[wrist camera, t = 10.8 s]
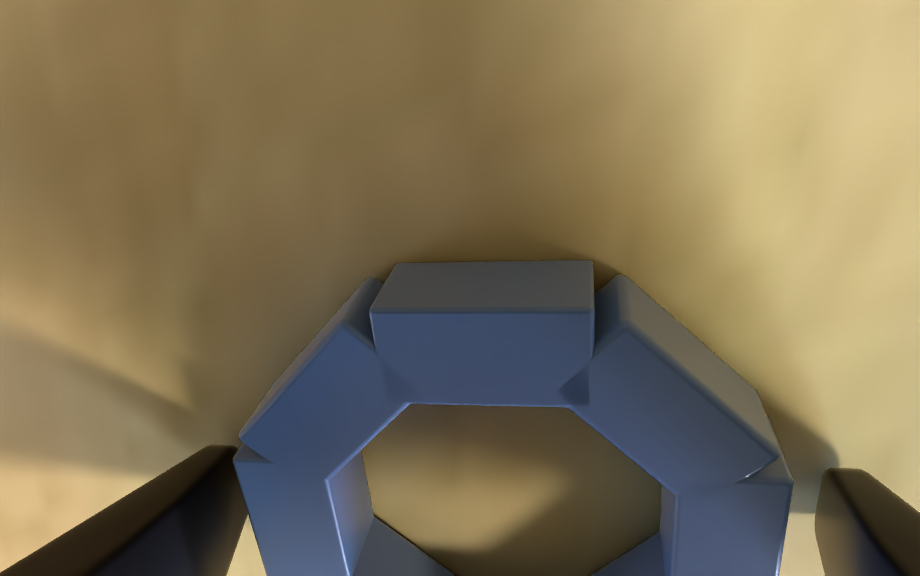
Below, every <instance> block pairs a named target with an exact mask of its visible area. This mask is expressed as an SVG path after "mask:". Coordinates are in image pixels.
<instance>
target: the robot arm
mask: <svg viewBox="0 0 920 576" xmlns="http://www.w3.org/2000/svg"><path fill="white" fill-rule="evenodd" d="M238 450H239V449H238V448H237V447H235V446H231V445H209V446H207V447H205V448H203V449H202V450H200V451H198V452H197V453H195V454H193V455H192V456H190V457H188V458H187V459H185V460H184V461H182V462H180V463H179V464H177V465H175V466H174V467H172V468H171V469H169V470H167V471H166V472H164V473H162V474H161V475H159V476H157V477H156V478H154V479H153V480H151V481H149V482H148V483H146V484H144V485H143V486H141V487H139V488H138V489H136V490H135V491H133V492H131V493H130V494H128V495H126V496H125V497H123V498H121V499H120V500H118V501H117V502H115V503H113V504H112V505H110V506H108V507H107V508H105V509H104V510H102V511H100V512H99V513H97V514H95V515H94V516H92V517H90V518H89V519H87V520H86V521H84V522H82V523H81V524H79V525H77V526H76V527H74V528H72V529H71V530H69V531H68V532H66V533H64V534H63V535H61V536H59V537H58V538H56V539H54V540H53V541H51V542H50V543H48V544H46V545H45V546H43V547H41V548H40V549H38V550H37V551H35V552H33V553H32V554H30V555H28V556H27V557H25V558H23V559H22V560H20V561H19V562H17V563H15V564H14V565H12V566H10V567H9V568H7V569H5V570H4V571H2V572H1V573H0V576H226V575H227V572H228V569H229V566H230V564H231V561H232V558H233V555H234V552H235V549H236V546H237V543H238V541H239V538H240V535H241V532H242V529H243V526H244V523H245V520H246V518H247V515H248V511H247V508H246V504H245V501H244V498H243V494H242V491H241V488H240V484H239V481H238V478H237V474H236V471H235V468H234V464H233V457H234V456H235V454H236V453H237V451H238ZM815 533H816V539H817V543H818V547H819V551H820V556H821V560H822V564H823V568H824V572H825V576H920V513H919V512H918V511H917V510H915V509H914V508H913V507H912V506H910V505H909V504H908V503H906V502H905V501H904V500H902V499H901V498H900V497H899V496H897V495H896V494H895V493H893V492H892V491H891V490H889V489H888V488H887V487H886V486H884V485H883V484H882V483H880V482H879V481H878V480H876V479H875V478H874V477H873V476H871V475H870V474H869V473H867V472H865V471H863V470H861V469H849V468H829V469H828V470H826V471H825V473H824V475H823V477H822V482H821V487H820V493H819V498H818V504H817V509H816V514H815Z"/></svg>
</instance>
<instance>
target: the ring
mask: <svg viewBox="0 0 920 576" xmlns="http://www.w3.org/2000/svg"><path fill="white" fill-rule="evenodd" d="M409 404H443V405H487V406H531V407H568V408H569V409H570V410H571V411H572V412H574V413H575V414H576V415H577V416H579V417H580V418H581V419H582V420H584V421H585V422H586V423H587V424H588V425H590V426H591V427H592V428H593V429H595V430H596V431H597V432H598V433H599V434H601V435H602V436H603V437H604V438H606V439H607V440H608V441H609V442H611V443H612V444H613V445H614V446H615V447H617V448H618V449H619V450H620V451H622V452H623V453H624V454H625V455H626V456H628V457H629V458H630V459H631V460H633V461H634V462H635V463H636V464H638V465H639V466H640V467H641V468H642V469H644V470H645V471H646V472H647V473H649V474H650V475H651V476H652V477H653V478H655V479H656V480H657V481H658V482H660V483H661V484H662V494H661V514H660V532H658V533H656V534H655V535H653V536H652V537H650V538H649V539H647V540H645V541H644V542H642V543H641V544H639V545H638V546H636V547H634V548H633V549H631V550H630V551H628V552H627V553H625V554H623V555H622V556H620V557H619V558H617V559H616V560H614V561H612V562H611V563H609V564H608V565H606V566H605V567H603V568H601V569H600V570H598V571H597V572H595V573H594V574H592V575H590V576H779V571H780V565H781V559H782V552H783V546H784V540H785V534H786V527H787V521H788V515H789V508H790V502H791V496H792V489H793V483H794V482H793V479H792V477H791V474H790V471H789V469H788V466H787V464H786V461H785V458H784V456H783V453H782V451H781V448H780V445H779V443H778V440H777V437H776V435H775V432H774V430H773V427H772V424H771V422H770V419H769V417H768V416H767V415H766V413H765V410H764V408H763V405H762V403H761V400H760V397H759V395H758V392H757V390H755V389H754V388H753V387H752V386H751V385H750V384H749V383H748V382H746V381H745V380H744V379H743V378H742V377H741V376H740V375H738V374H737V373H736V372H735V371H734V370H733V369H732V368H731V367H729V366H728V365H727V364H726V363H725V362H724V361H723V360H721V359H720V358H719V357H718V356H717V355H716V354H715V353H713V352H712V351H711V350H710V349H709V348H708V347H707V346H706V345H704V344H703V343H702V342H701V341H700V340H699V339H698V338H696V337H695V336H694V335H693V334H692V333H691V332H690V331H688V330H687V329H686V328H685V327H684V326H683V325H682V324H681V323H679V322H678V321H677V320H676V319H675V318H674V317H673V316H671V315H670V314H669V313H668V312H667V311H666V310H665V309H663V308H662V307H661V306H660V305H659V304H658V303H657V302H656V301H654V300H653V299H652V298H651V297H650V296H649V295H648V294H646V293H645V292H644V291H643V290H642V289H641V288H640V287H638V286H637V285H636V284H635V283H634V282H633V281H632V280H631V279H629V278H628V277H627V276H624V275H622V274H620V275H618V276H616V277H614V278H613V279H612V280H611V281H610V282H609V283H608V284H606V285H605V286H604V287H603V288H602V289H601V290H600V291H598V292H597V293H596V294H595V295H594V265H593V263H592V261H590V260H560V261H498V262H435V263H398V264H396V265H395V266H394V268H393V269H392V271H391V273H390V275H389V276H388V278H387V280H386V281H385V283H384V284H383V283H382V282H381V281H379V280H378V279H377V278H375V277H373V276H371V277H369V278H367V279H365V281H364V282H363V283H362V284H361V285H360V286H359V287H358V288H357V290H356V291H355V292H354V293H353V294H352V295H351V296H350V297H349V299H348V300H347V301H346V302H345V303H344V304H343V305H342V306H341V308H340V309H339V310H338V311H337V312H336V313H335V314H334V316H333V317H332V318H331V319H330V320H329V321H328V322H327V323H326V325H325V326H324V327H323V328H322V329H321V330H320V331H319V332H318V334H317V335H316V336H315V337H314V338H313V339H312V340H311V341H310V343H309V344H308V345H307V346H306V347H305V348H304V349H303V351H302V352H301V353H300V354H299V355H298V356H297V357H296V358H295V360H294V361H293V362H292V363H291V364H290V365H289V366H288V367H287V369H286V370H285V371H284V372H283V373H282V374H281V375H280V376H279V378H278V379H277V380H276V381H275V382H274V384H273V385H272V386H271V388H270V389H269V391H268V392H267V393H266V395H265V396H264V398H263V399H262V401H261V402H260V403H259V405H258V406H257V408H256V409H255V411H254V412H253V413H252V415H251V416H250V418H249V419H248V421H247V422H246V423H245V425H244V426H243V428H242V429H241V430H240V434H239V439H240V440H241V442H243V444H242V445H241V447H240V448H239V450H238V451H237V453H236V454H235V456H234V457H233V464H234V468H235V471H236V474H237V478H238V481H239V484H240V488H241V491H242V494H243V498H244V501H245V504H246V508H247V511H248V514H249V518H250V521H251V524H252V528H253V531H254V534H255V538H256V541H257V544H258V548H259V551H260V555H261V558H262V561H263V565H264V568H265V571H266V575H267V576H456V575H454V574H453V573H452V572H450V571H449V570H447V569H446V568H445V567H443V566H442V565H441V564H439V563H438V562H436V561H435V560H434V559H432V558H431V557H430V556H428V555H427V554H425V553H424V552H423V551H421V550H420V549H419V548H417V547H416V546H414V545H413V544H412V543H410V542H409V541H408V540H406V539H405V538H403V537H402V536H401V535H399V534H398V533H396V532H395V531H394V530H392V529H391V528H390V527H388V526H387V525H385V524H384V523H383V522H381V521H380V520H379V519H377V518H376V517H374V514H373V509H372V504H371V498H370V493H369V488H368V483H367V478H366V473H365V467H364V462H363V457H362V452H361V450H362V449H363V448H364V447H365V446H366V445H367V444H368V443H369V442H370V441H371V440H372V439H373V438H374V437H375V436H376V435H377V434H379V433H380V432H381V431H382V430H383V429H384V428H385V427H386V426H387V425H388V424H389V423H390V422H391V421H392V420H393V419H394V418H396V417H397V416H398V415H399V414H400V413H401V412H402V411H403V410H404V409H405V408H406V407H407V406H408V405H409Z"/></svg>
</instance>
